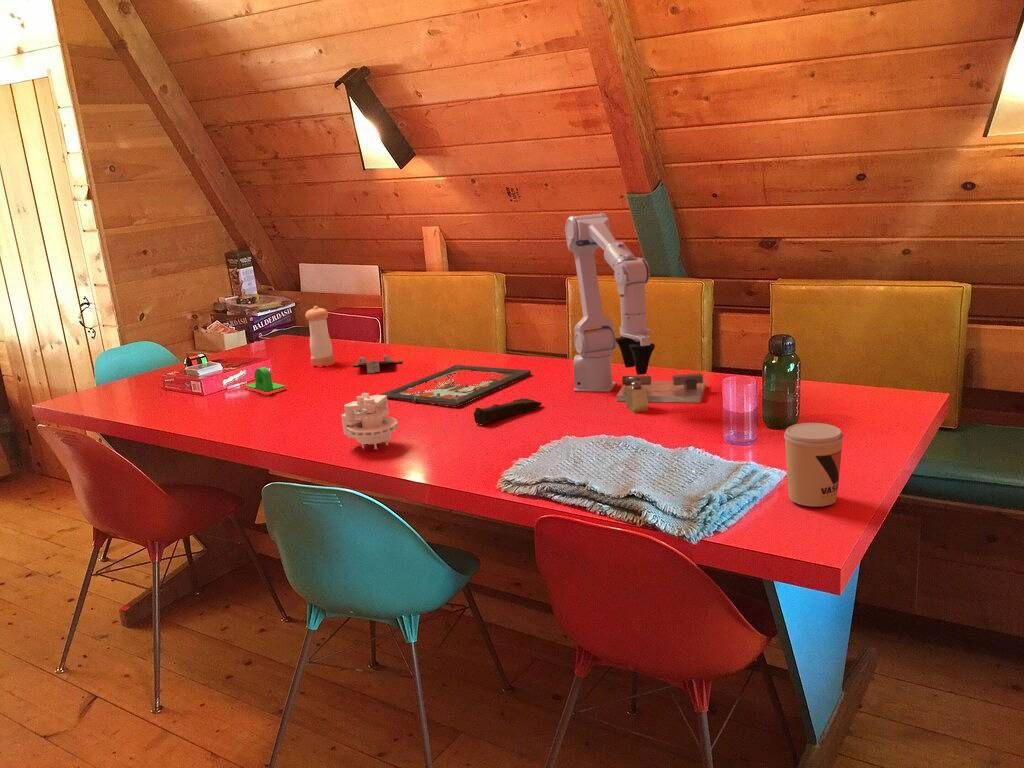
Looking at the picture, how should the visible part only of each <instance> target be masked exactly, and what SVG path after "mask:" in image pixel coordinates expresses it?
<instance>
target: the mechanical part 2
mask: <svg viewBox="0 0 1024 768" xmlns="http://www.w3.org/2000/svg"><path fill="white" fill-rule="evenodd" d="M355 398H356V401H355V400H353V401H351V402H349V403H345V404H344V405H343V408H344V413H342V414H341V421H342V427H343V428H342V429H343V434H344V436H347V437H348V438H349V439H355V440H356V442H357V443H359V444H361V449H362V448H365V445H366V444H368V445H374V450H375V449H377V450H378V447H377V446H378V445H377V444H383V443H385V446H386V445H388V446H389V440H390V439H391V438H392V436H391V435H392V434H391V433H392V432H394V431H396V430H397V429H398V427H399V425H398V420H397V419H396V418H394V417H391V416H388V415H389V414H390V413H389V412H390V411H389V405H388V404H389V403H388V398H387V395H379V394H375V395H370V393H369V392H362V393H361V395H357V396H356V397H355ZM382 442H383V443H382Z"/></svg>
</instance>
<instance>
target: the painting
mask: <svg viewBox="0 0 1024 768" xmlns="http://www.w3.org/2000/svg"><path fill="white" fill-rule="evenodd" d="M462 370H463V371H464V370H465V371H466V370H469V371H470V370H471V372H472V371H479V372H480V371H481V372H488V373H489V372H490V373H497V374H498V373H499V374H502V376H500V377H499V378H500V379H499V378H498V377H497V378H498V379H497V378H496V377H495V378H496V379H497V380H496V379H495V378H494V379H489V380H490V381H489V380H488V381H489V382H488V381H487V382H486V381H485V382H484V381H482V382H481V383H480V382H479V383H480V384H479V385H478V384H477V385H476V384H475V385H476V387H475V386H471V385H470V386H469V385H468V384H467V383H466V384H467V385H468V386H467V385H466V384H465V385H466V386H465V387H464V386H463V385H462V386H463V388H462V386H461V385H460V384H459V385H460V387H461V388H460V387H459V385H458V384H457V383H456V382H455V381H454V380H453V379H452V380H453V381H452V384H453V383H454V382H455V383H456V384H457V385H458V387H457V386H455V385H456V384H455V383H454V384H455V385H454V384H453V385H454V386H453V385H452V384H451V383H450V381H449V380H450V379H449V378H450V377H448V375H450V376H451V375H452V374H451V373H452V372H453V374H456V372H455V371H460V372H461V371H462ZM454 372H455V373H454ZM531 372H532V371H531V369H518V368H516V369H515V368H507V367H506V368H505V367H502V368H501V367H491V366H479V365H477V366H476V365H464V364H454V365H452V366H450V367H448V368H446V369H443V370H440V371H438V372H435V373H433V374H430V375H427V376H424V377H422V378H420V379H417V380H414V381H411V382H409V383H406V384H404V385H401V386H398V387H396V388H394V389H391V390H388V391H385V392H382V393H379V394H378V395H387V399H389V398H393V399H392V400H396V399H399V400H398V401H402V400H409V401H408V402H410V401H414V402H422V403H421V404H426V403H434V404H433V405H435V404H440V405H448V406H447V407H449V406H458V405H461V404H464V403H466V402H468V401H470V400H472V399H474V398H477V397H479V396H482V395H484V394H486V395H488V394H487V393H489V392H491V393H493V392H492V391H494V390H496V391H498V390H500V389H499V388H500V387H503V386H505V385H507V386H509V385H508V384H510V383H512V382H514V383H516V382H515V381H517V380H519V379H521V380H523V379H525V378H528V377H530V376H531V374H532V373H531ZM447 374H448V375H447ZM458 374H459V373H458ZM484 374H485V373H484ZM503 374H504V375H503ZM442 376H443V377H442ZM444 376H445V377H446V376H447V377H448V379H449V380H448V379H445V378H444ZM492 376H493V375H492ZM527 376H528V377H527ZM452 377H453V376H452ZM524 377H525V378H524ZM437 378H440V379H441V378H442V379H443V378H444V379H445V381H446V380H447V381H448V382H447V381H446V382H447V383H446V382H445V381H444V382H445V383H444V382H443V380H444V379H443V380H442V379H441V381H442V382H443V383H444V384H445V385H444V384H443V383H442V382H441V381H440V380H439V379H438V380H439V381H440V382H441V383H442V384H441V383H440V382H439V381H438V380H437V381H438V383H439V385H440V384H441V385H442V386H441V385H440V386H438V385H437V386H438V388H436V387H435V388H434V389H433V390H432V389H431V391H430V388H429V390H428V391H427V390H425V393H424V391H422V393H421V392H419V391H418V393H416V392H415V394H413V393H414V392H413V393H412V394H411V393H410V394H409V392H408V393H407V390H409V389H412V387H416V385H417V386H418V385H420V384H422V383H424V382H425V383H427V381H430V380H434V379H437ZM522 378H523V379H522ZM456 381H457V380H456ZM519 381H520V380H519ZM434 382H436V381H434ZM517 382H518V381H517ZM436 383H437V382H436ZM449 383H450V384H451V385H452V386H451V385H450V384H449ZM512 384H513V383H512ZM473 385H474V384H473ZM510 385H511V384H510ZM430 386H431V385H430ZM505 387H506V386H505ZM503 388H504V387H503ZM497 389H498V390H497ZM405 391H406V393H405ZM409 391H410V390H409ZM413 391H414V390H413ZM494 392H495V391H494ZM489 394H490V393H489ZM484 396H485V395H484ZM482 397H483V396H482ZM468 403H469V402H468ZM466 404H467V403H466ZM440 405H439V406H440ZM464 405H465V404H464Z"/></svg>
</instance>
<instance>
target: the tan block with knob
mask: <svg viewBox="0 0 1024 768" xmlns="http://www.w3.org/2000/svg"><path fill="white" fill-rule="evenodd" d="M648 403H649V402H648V400H647V388H645V387H644V386H642V385H641V382H640V381H633V382H631V386H626V409H628V410H629V411H630V412H631V413H633V414H635V413H642V412H648V411H649V407H648V406H649V404H648Z"/></svg>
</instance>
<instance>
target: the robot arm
mask: <svg viewBox="0 0 1024 768" xmlns="http://www.w3.org/2000/svg"><path fill="white" fill-rule="evenodd" d="M564 234H565V238H566V245H567V249H568V251H570V252H572V253H573V256H574V262H575V268H576V269H575V270H576V275H577V276H576V277H577V282H578V290H579V295H580V296H579V297H580V304H581V311H582V315H583V316H582V318H581V319H580V320H579V321H578V322H577V324H575V325H574V328H573V330H574V332H573V333H574V337H573V338H574V339H573V343H574V348H575V350H576V352H577V353H578V354H575V355H574V358H573V367H572V368H573V380H574V381H573V384H574V390H573V391H574V392H602V393H603V392H605V393H607V392H608V393H609V392H611V391H612V390H613V389H614V387H615V386H616V384H617V382H616V381H613V377H612V357H611V355H612V354H614V350H616V349H617V346H618V347H619V350H620V352H621V353H620V354H621V356H622V360H623V364H624V367H625V368H633V367H634V368H635V373H636V376H643V375H647V372H648V368H649V363H650V359H651V356H652V353H653V351H654V349H655V348H656V347H655V346H656V344H654V343H653V342H652V343H651V337H650V336H649V334H652V331H653V330H652V329H650V328H647V325H648V324H647V303H646V302H647V301H646V297H647V296H646V284H648V282H649V279H650V276H651V274H650V266H649V263H648V262H647V260H646V259H645V258H643V257H639V256H638V257H636V256H635V255H634V254H633V252H632V251H631V250H630V249H629V248H628V246H627V245H626V244H625V243H624V242H623V241H617V239H616V238H615V237H614V235H613V233H612V232H611V223H610V219H609V217H608V216H607V214H606V213H605V212H600V213H594V214H585V215H569V217H568V218H567V219H566V222H565V226H564ZM599 248H601V250H603V251H604V252H603V257H604V258H603V259H604V260H605V262H607V265H608V266H610V267H611V269H612V271H614V273H613V275H614V279H615V283H616V288H617V293H618V294H619V299H620V303H619V304H620V324H621V325H620V326H619V335H620V337H618V335H617V332H616V329H615V328H614V326H615V325H614V323H613V321H612V320H611V319H609V318H608V317H606V316H605V315H603V314H604V313H603V309H602V299H601V293H600V287H599V280H598V274H597V273H598V272H597V266H596V260H595V253H596V250H598V249H599ZM595 327H597V328H595ZM598 327H599V328H598ZM590 328H592V329H590Z"/></svg>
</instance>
